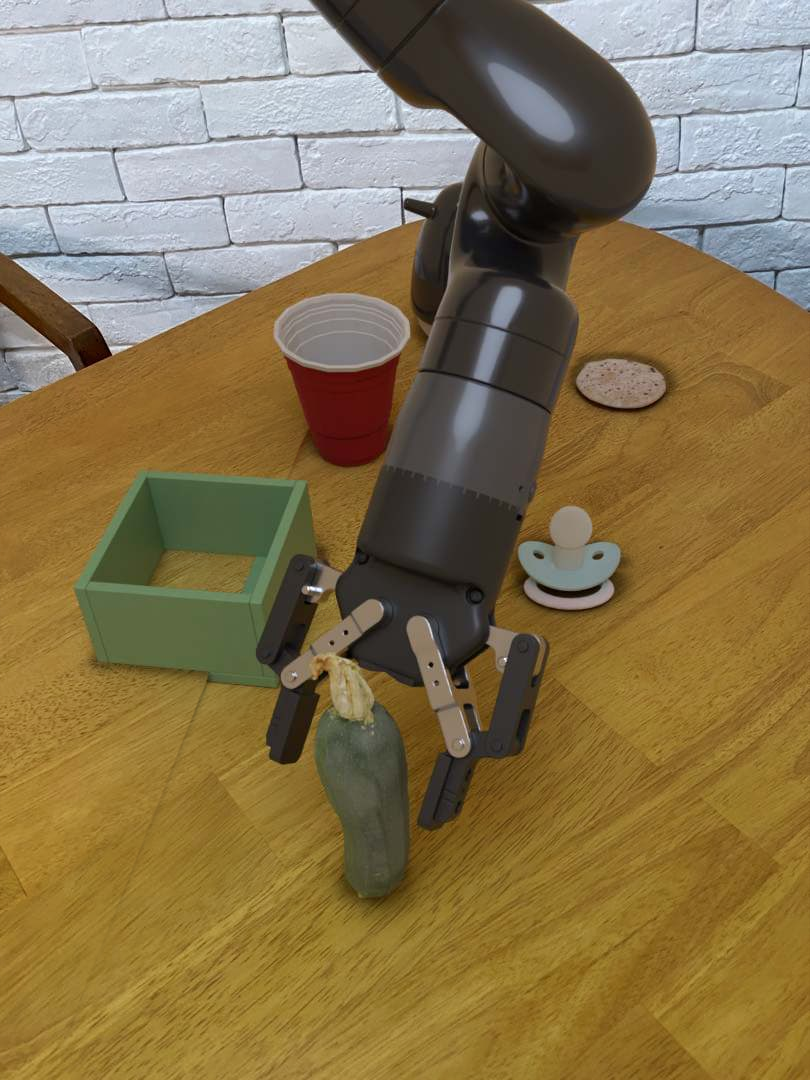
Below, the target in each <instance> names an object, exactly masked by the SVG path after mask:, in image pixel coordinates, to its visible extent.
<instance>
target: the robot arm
mask: <svg viewBox="0 0 810 1080" xmlns="http://www.w3.org/2000/svg"><path fill="white" fill-rule="evenodd" d="M307 1H308V2H309V4H310V5H311V6H312V8H314V9H315V11H316V12H317V13H318V14H319V15H320V17H322V18H323V19H324V21H325V22H326V23H327V24H328V25H329V26H330V27H331V28H332V30H334V31H335V33H336V34H337V35H338V36H339V37H340V38H341V39H342V41H344V42H345V43H346V45H348V47H349V48H350V49H351V50H352V51H353V52H354V53H355V54H356V55H357V57H359V58H360V59H361V61H362V62H363V63H364V64H365V65H366V66H367V67H368V68H369V69H370V70H371V71H372V73H376V72H377V73H376V77H377V78H378V79H379V80H380V81H381V82H382V83H383V84H384V86H386V87H387V88H388V89H389V90H390V91H391V92H392V93H393V94H395V96H397V97H398V98H399V99H400V100H402V101H403V102H404V103H405V104H407V105H408V106H410V107H412V108H414V109H419V110H439V111H444V112H446V113H448V114H449V115H451V116H452V117H454V118H455V119H456V120H457V121H458V122H460V123H461V124H462V125H463V126H464V127H465V128H467V130H469V131H470V132H472V134H473V135H474V136H476V137H477V138H478V139H479V141H478V144H477V146H476V148H475V150H474V152H473V154H472V156H471V159H470V162H469V164H468V167H467V170H466V173H465V176H464V179H463V181H462V182H463V186H462V190H461V194H460V199H459V204H458V209H457V214H456V220H455V227H454V233H453V239H452V246H451V252H450V259H449V272H448V281H447V287H446V291H445V294H444V296H443V298H442V301H441V303H440V306H439V308H438V311H437V313H436V316H435V319H434V322H433V325H432V328H431V331H430V334H429V336H428V338H427V341H426V344H425V346H424V350H423V353H422V356H421V359H420V362H419V365H418V368H417V373H416V374H415V377H414V380H413V382H412V384H411V387H410V388H409V391H408V393H407V395H406V397H405V399H404V401H403V403H402V405H401V406H400V410H399V412H398V414H397V417H396V419H395V421H394V426H393V428H392V431H391V435H390V438H389V441H388V444H387V447H386V451H385V453H384V457H383V459H382V463H381V465H380V469H379V472H378V475H377V477H376V481H375V484H374V487H373V490H372V493H371V495H370V500H369V502H368V505H367V508H366V511H365V515H364V517H363V520H362V524H361V527H360V530H359V533H358V536H357V539H356V543H355V544H356V545H355V552H354V556H353V559H352V560H351V562H350V564H349V565H348V567H346V568H345V570H344V571H343V570H340V569H338V568H335V567H334V566H331V563H330V562H329V561H328V560H327V559H325V558H321V557H318V558H317V557H313V556H308V555H304V554H297V555H295V556H293V557H292V559H291V560H290V563H289V565H288V568H287V570H286V573H285V576H284V578H283V581H282V583H281V586H280V589H279V591H278V594H277V596H276V599H275V602H274V604H273V607H272V609H271V612H270V614H269V617H268V620H267V622H266V625H265V627H264V630H263V633H262V635H261V638H260V640H259V643H258V646H257V648H256V658H257V660H258V661H259V662H260V663H261V664H265V665H268V666H269V667H270V668H271V669H272V670H273V671H274V672H275V673H276V674H277V675H278V677H279V678H280V681H279V682H280V690H279V694H278V696H277V699H276V702H275V706H274V708H273V712H272V716H271V718H270V720H269V724H268V727H267V730H266V733H265V746H267V747H270V749H269V753H268V759H269V760H270V761H272V762H274V763H277V764H279V765H281V766H284V765H291V764H296V763H297V762H299V760H300V758H301V757H302V753H303V751H304V747H305V744H306V741H307V739H308V735H309V732H310V728H311V727H312V723H313V721H314V717H315V713H316V711H317V707H318V704H319V701H320V698H321V694H320V693H317V692H316V689H318V688H319V687H320V686H322V685H323V684H324V683H326V682H328V680H330V677H329V673H328V671H325V670H324V669H323V668H321V670H323V671H322V673H321V674H320V675H319V676H318V678H317V679H316V680H313V679H312V678H313V674H312V671H311V669H310V665H309V664H310V663H311V662H312V661H311V660H312V659H313V658H314V657H315V656H316V655H318V654H321V653H323V654H326V653H327V652H336V653H337V654H336V656H339V657H341V658H346V659H348V660H350V661H352V662H353V663H355V664H356V663H357V665H358V666H359V667H360V668H361V669H364V670H367V671H369V672H377V673H378V672H379V673H386V674H387V675H388V676H390V677H391V678H392V679H394V680H395V681H397V682H398V683H400V684H402V685H406V686H408V687H410V688H425V692H426V696H427V699H428V703H429V705H430V707H431V710H432V711H433V712H434V713H435V714H436V716H437V719H438V722H439V726H440V729H441V733H442V735H443V739H444V743H445V746H446V750H445V751H441V752H438V755H437V758H436V761H435V764H434V766H433V770H432V772H431V776H430V779H429V782H428V785H427V788H426V791H425V794H424V797H423V800H422V804H421V806H420V809H419V812H418V815H417V818H416V826H417V827H419V828H421V829H423V830H425V831H427V832H430V833H432V832H434V831H437V830H440V829H442V828H443V826H445V824H448V823H451V822H454V821H455V820H456V819H457V817H458V816H459V815H460V814H461V813H462V810H463V807H464V803H465V800H466V798H467V794H468V791H469V788H470V786H471V782H472V779H473V777H474V773H475V770H476V768H477V765H478V763H479V762H480V761H481V760H482V759H494V760H502V759H505V758H508V757H509V758H511V757H516V756H519V755H520V754H522V753H523V751H524V749H525V745H526V743H527V738H528V735H529V731H530V726H531V723H532V719H533V716H534V712H535V709H536V704H537V701H538V696H539V693H540V690H541V684H542V682H543V677H544V673H545V670H546V665H547V662H548V658H549V655H550V650H551V646H550V643H549V640H548V639H547V638H546V637H544V636H543V635H539V634H537V633H531V632H530V633H529V632H528V633H524V632H523V633H521V632H518V631H514V630H510V629H507V628H504V627H500V626H497V622H496V614H495V611H496V604H497V602H498V598H499V596H500V593H501V591H502V588H503V585H504V582H505V578H506V575H507V573H508V570H509V566H510V564H511V560H512V557H513V555H514V551H515V549H516V545H517V542H518V538H519V535H520V533H521V530H522V527H523V524H524V521H525V517H526V515H527V511H528V509H529V505H530V504H531V503H532V502H533V500H534V497H535V494H536V491H537V488H538V482H537V481H538V478H539V474H540V471H541V468H542V464H543V461H544V456H545V452H546V447H547V440H548V435H549V430H550V426H551V423H552V422H551V421H552V418H553V417H552V415H553V414H554V412H555V409H556V406H557V403H558V400H559V397H560V395H561V391H562V389H563V388H562V387H563V386H564V385H563V384H564V382H565V378H566V376H567V372H568V370H569V366H570V363H571V360H572V356H573V354H574V350H575V347H576V342H577V339H578V338H577V337H578V333H579V325H580V315H579V311H578V308H577V306H576V303H575V302H574V301H573V300H572V299H573V298H571V297H570V295H568V294H567V293H566V289H567V284H568V280H569V279H568V278H569V275H570V270H571V266H572V265H571V264H572V260H573V256H574V253H575V250H576V247H577V244H578V242H579V239H580V237H581V235H582V234H584V233H588V232H591V231H594V230H596V229H600V228H602V227H605V226H607V225H610V224H613V223H615V222H617V221H618V220H620V219H622V218H623V217H625V216H626V215H628V214H629V213H630V212H631V211H633V210H634V209H636V207H637V206H638V205H639V204H640V203H641V202H642V200H643V199H644V198H645V196H646V195H647V193H648V191H649V190H650V188H651V186H652V184H653V181H654V178H655V175H656V170H657V164H658V147H657V139H656V133H655V130H654V127H653V124H652V121H651V118H650V116H649V114H648V112H647V109H646V108H645V105H644V104H643V102H642V100H641V99H640V97H639V95H638V94H637V93H636V91H635V89H634V87H632V85H631V84H630V82H628V80H627V79H626V78H625V76H623V74H621V72H620V71H618V69H616V68H615V67H614V66H613V65H612V63H610V62H609V61H608V60H607V59H606V58H604V57H603V56H602V55H601V54H600V53H599V52H597V51H596V50H595V49H593V48H592V47H591V46H589V45H588V44H587V43H586V42H584V41H583V40H582V39H580V38H579V37H578V36H577V35H575V34H574V33H573V32H571V31H570V30H568V28H566V27H565V26H564V25H562V24H561V23H559V22H558V21H557V20H555V19H554V18H553V17H551V16H550V15H549V14H548V13H546V12H545V11H543V10H542V9H541V8H539V7H538V6H536V5H534V4H533V3H531V2H530V1H528V0H307ZM333 593H334V595H335V599H336V603H337V606H338V611H339V614H340V618H341V621H340V622H339V623H337V624H336V625H334V626H333V627H332V628H330V629H329V630H328V631H326V632H325V633H324V634H323V635H321V636H319V637H318V638H317V639H315V640H314V641H313V642H312V643H310V645H309V648H308V649H307V650H306V651H304V652H303V653H302V654H301V652H302V648H303V646H304V643H305V641H306V638H307V636H308V633H309V631H310V628H311V625H312V622H313V621H314V618H315V615H316V612H317V610H318V607H319V605H320V604H324V603H326V602H327V601H328V600H329V598H330V597H331V596H332V594H333ZM489 648H492V651H493V653H494V655H495V656H494V666H495V668H496V670H497V671H498V673H500V674H501V675H502V677H501V681H500V684H499V689H498V691H497V697H496V699H495V704H494V707H493V711H492V715H491V720H490V722H489V726H488V730H485V729H484V725H483V722H482V719H481V715H480V713H479V709H478V695H477V692H476V689H475V685H474V681H473V678H472V675H471V673H470V668H469V665H468V664H469V663H471V662H472V661H474V660H475V659H476V658H477V657H479V656H480V655H482V654H483V653H484V652H485V651H487V650H488V649H489Z"/></svg>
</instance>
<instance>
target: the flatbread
mask: <svg viewBox="0 0 810 1080" xmlns="http://www.w3.org/2000/svg"><path fill="white" fill-rule="evenodd" d="M575 386H576V387H577V389H578V390H579V391H580V393H581V394H582V395H583V396H584V397H585V398H587V399H589V400H590V401H592V402H595V403H598V404H600V405H603V406H607V407H611V408H617V409H638V408H643V407H647V406H649V405H651V404H653V403H655V402H656V401H658V400H659V399H660V398H661V397H662V396H663V395H664V394H665V392H666V390H667V384H666V380H665V376H664V375H663V374H662V373H661V372H660V371H659V370H658V369H656V368H655V367H654V366H651V365H648V364H646V363H645V364H644V363H641V362H636V361H632V360H628V359H621V358H620V359H619V358H605V359H603V360H595V361H589V362H587V363H585V364H584V366H583V368H582V369H581V371H579V373H578V375H577V376H576V378H575Z"/></svg>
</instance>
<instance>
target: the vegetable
mask: <svg viewBox="0 0 810 1080" xmlns="http://www.w3.org/2000/svg"><path fill="white" fill-rule="evenodd" d="M336 654H337V653H336V652H327V653H326V654H323V653H321V654H318V655H316V656H315V657H314V658H313V659H312V660H311V661H312V662H311V663H310V664H309V665H310V669H311V671H312V674H313V678H312V679H313V680H316V679H317V678H318V676H319V675H320V674H321V673H322V671H323V670H321V668H323V669H324V670H325V671H328V673H329V677H330V679H329V685H330V686H329V689H330V696H331V701H332V704H331V705H330V706H329V707H327V708H326V709H325V710H324V711H323V713H321V716H320V718H319V720H318V722H317V725H316V729H315V734H314V743H313V746H314V747H313V758H314V760H315V764H316V769H317V773H318V776H319V777H318V778H319V779H320V780H319V781H320V783H321V785H322V787H323V789H324V792H325V794H326V797H327V800H328V802H329V804H330V805H331V807H332V809H333V811H334V813H335V815H336V816H337V817H338V819H339V822H340V826H341V829H342V833H343V856H344V871H343V872H344V873H343V874H344V877H345V880H346V881H347V883H348V884H349V886H350V887H351V888H352V889H353V890H354V891H355V892H356V893H357V895H358V898H359V899H373V898H382V897H385V896H387V895H388V894H390V893H391V892H392V891H393V890H395V889H396V888H398V887H399V886H400V885H401V884H402V882H403V880H404V876H405V872H406V869H407V865H408V861H409V855H410V850H411V827H410V825H411V824H410V823H411V822H410V821H411V820H410V805H411V804H410V803H411V802H410V795H409V774H408V773H409V772H408V770H409V769H408V761H407V753H406V748H405V743H404V740H403V735H402V732H401V730H400V727H399V726H398V723H397V722H396V721H395V719H394V717H393V715H391V713H390V712H389V711H388V709H386V707H385V706H384V705H383V704H382V703H380V702H378V701H377V700H376V698H375V696H374V694H373V691H372V689H371V687H370V686H369V685H368V682H367V681H366V679H365V675H364V671H363V668H361V667H359V666H358V664H356V663H353V662H352V661H350V660H348V659H346V658H341V657H339V656H336Z"/></svg>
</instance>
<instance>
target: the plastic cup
mask: <svg viewBox="0 0 810 1080" xmlns="http://www.w3.org/2000/svg"><path fill="white" fill-rule="evenodd" d="M273 327H274V328H273V340H274V342H275V344H276V345H277V347H278V349H280V351H281V352H282V354H283V358H284V359H285V361H286V364H287V368H288V370H289V372H290V374H291V378H292V381H293V384H294V387H295V390H296V394H297V396H298V399H299V402H300V406H301V408H302V411H303V415H304V419H305V421H306V423H307V425H308V427H309V429H310V433H311V436H312V439H313V442H314V446H315V447H316V449H317V451H318V453H319V455H320V456H321V457H322V459H323V460H324V461H325V462H327V463H329V464H331V465H333V466H339V467H343V468H344V467H345V468H349V467H360V466H363V465H366V464H369V463H371V462H373V461H375V460H376V459H377V458H379V457H380V456H381V455H382V453H383V452H384V450H385V446H386V443H387V440H388V439H387V438H388V432H389V431H388V429H389V420H390V418H391V414H392V406H393V399H394V393H395V384H396V377H397V369H398V366H399V363H400V359H401V355H402V354H403V350H404V348H405V347H406V345H407V344H408V343H409V340H410V338H411V327H410V320H409V319H408V318H407V317H406V316H405V314H404V313H403V312H402V311H401V310H400V308H399V307H397V306H395V305H393V304H391V303H389V302H387V301H385V300H383V299H381V298H379V297H375V296H370V295H365V294H361V293H356V292H351V293H349V292H347V293H345V292H344V293H341V292H340V293H339V292H337V293H334V292H333V293H332V292H330V293H325V294H321V295H317V296H312V297H307V298H304V299H301V300H300V301H298V302H296V303H295V304H293V305H291V306H288V307H287V308H285V309H284V310H283V312H282V313H281V314H280V315H279V316H278V318H277V319H276V320H275V321H274V326H273Z"/></svg>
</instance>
